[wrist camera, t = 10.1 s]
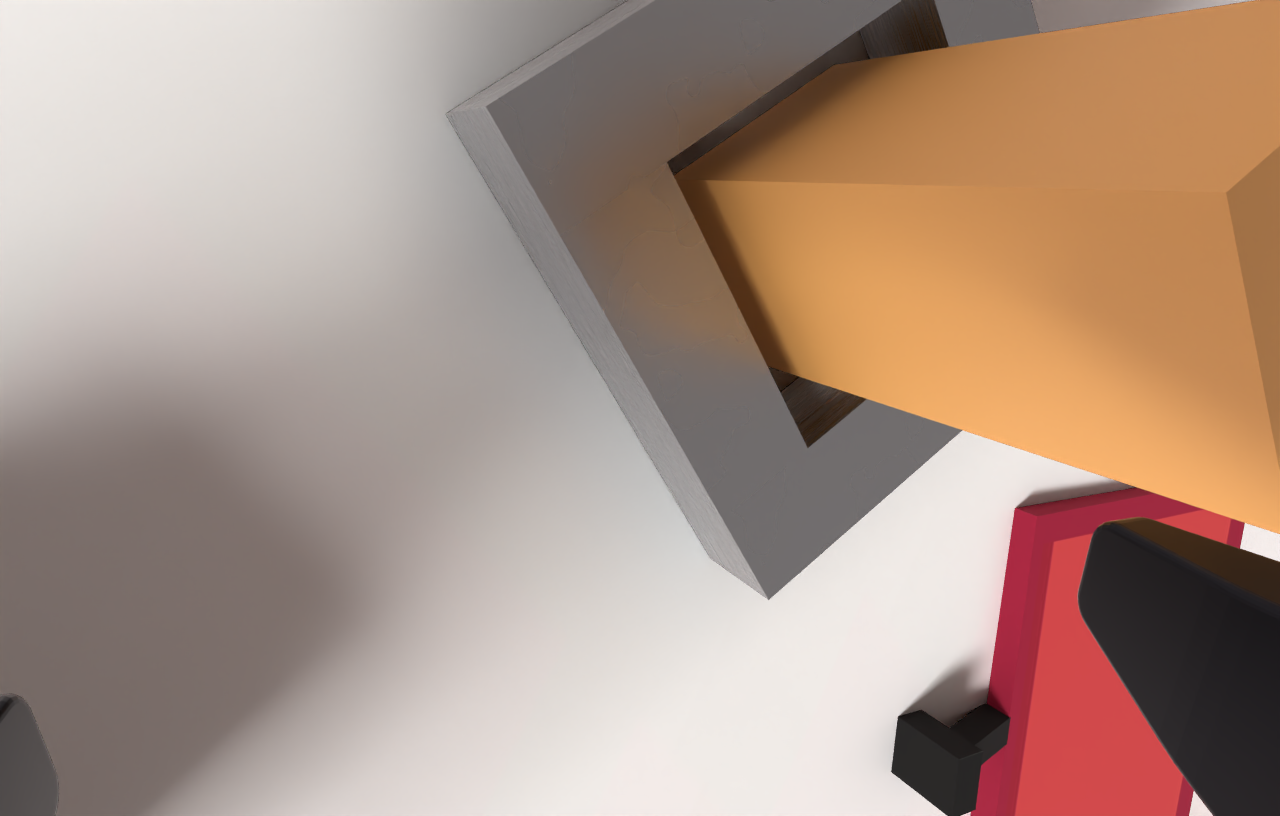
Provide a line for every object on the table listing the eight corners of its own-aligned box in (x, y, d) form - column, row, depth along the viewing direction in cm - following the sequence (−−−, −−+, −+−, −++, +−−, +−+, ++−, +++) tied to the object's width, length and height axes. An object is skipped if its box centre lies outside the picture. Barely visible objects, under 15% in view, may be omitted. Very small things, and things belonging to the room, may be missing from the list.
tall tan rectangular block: (759, 363, 22) (1291, 538, 12) (668, 179, 20) (1226, 192, 9) (904, 250, 23) (1502, 317, 13) (833, 64, 21) (1487, -35, 11)
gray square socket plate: (710, 558, 23) (768, 600, 20) (445, 114, 17) (486, 106, 15) (1031, 287, 26) (1111, 299, 23) (889, -163, 20) (975, -202, 18)
